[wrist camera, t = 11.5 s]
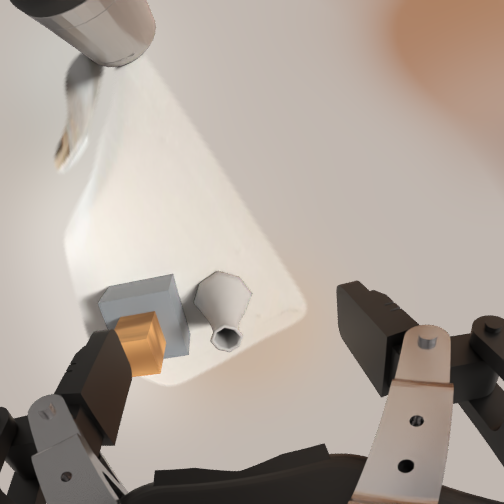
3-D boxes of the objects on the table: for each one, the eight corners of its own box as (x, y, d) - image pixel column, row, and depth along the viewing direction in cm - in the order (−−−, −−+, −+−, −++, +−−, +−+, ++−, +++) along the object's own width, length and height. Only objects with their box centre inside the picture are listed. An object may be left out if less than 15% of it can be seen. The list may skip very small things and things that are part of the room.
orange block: (120, 317, 35) (107, 344, 29) (155, 310, 35) (146, 338, 29) (132, 348, 36) (122, 378, 31) (166, 342, 36) (160, 373, 31)
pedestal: (109, 286, 39) (97, 303, 34) (173, 274, 39) (168, 290, 34) (130, 343, 41) (122, 364, 37) (190, 333, 42) (188, 354, 37)
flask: (229, 330, 43) (234, 376, 33) (184, 303, 41) (178, 346, 31) (261, 290, 41) (276, 330, 32) (216, 260, 39) (218, 294, 30)
